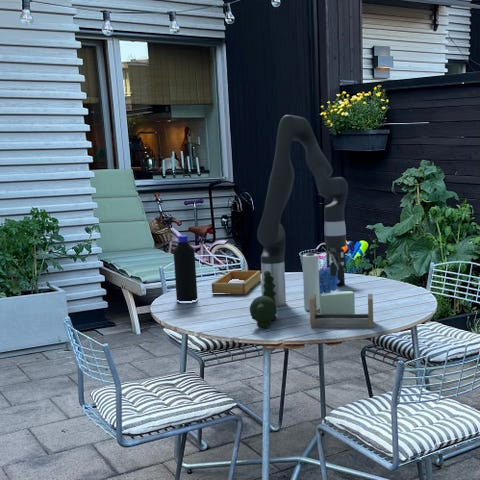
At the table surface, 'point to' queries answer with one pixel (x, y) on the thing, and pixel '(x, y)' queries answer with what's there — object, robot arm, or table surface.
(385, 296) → the table surface
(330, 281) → the grapes
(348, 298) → the pale green rectangular block
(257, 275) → the tray
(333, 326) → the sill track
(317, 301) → the paper towel roll
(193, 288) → the bottle
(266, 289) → the toy figurine
